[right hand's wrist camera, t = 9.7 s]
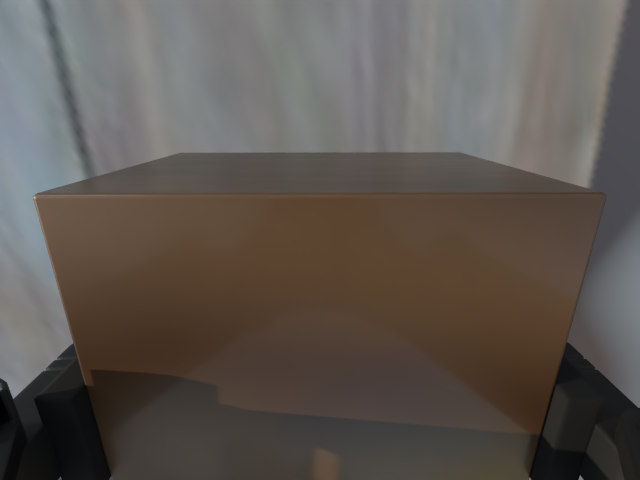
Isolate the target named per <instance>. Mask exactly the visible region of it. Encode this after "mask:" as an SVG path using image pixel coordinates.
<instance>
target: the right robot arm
mask: <svg viewBox="0 0 640 480" xmlns="http://www.w3.org/2000/svg"><path fill="white" fill-rule="evenodd" d="M580 475H581V476H582V478H583V479H584V480H640V408H638V407H637V406H636V405H635V404H633V403H632V402H631V401H630V400H629V399H628V398H627V397H626V396H625V395H624V394H623V393H622V392H621V391H620V390H619V389H617V388H616V387H615V386H614V385H613V384H612V383H611V382H610V381H609V380H608V379H607V378H606V377H605V376H604V375H602V374H601V373H600V372H599V371H598V370H595V367H594V366H593V365H592V364H591V363H590V362H589V361H588V360H586V359H584V358H583V356H582V355H581V354H580V353H579V352H578V351H577V350H576V349H575V348H574V347H573V346H571V345H570V344H569V343H566V346H565V350H564V354H563V357H562V361H561V365H560V368H559V372H558V375H557V379H556V383H555V386H554V390H553V394H552V397H551V401H550V405H549V408H548V412H547V415H546V419H545V423H544V426H543V430H542V434H541V437H540V441H539V445H538V448H537V452H536V456H535V459H534V463H533V466H532V470H531V474H530V478H531V480H578V479H579V476H580ZM60 476H61V478H62V480H109V478H110V477H111V476H110V472H109V468H108V465H107V461H106V458H105V454H104V450H103V447H102V443H101V440H100V436H99V432H98V429H97V425H96V422H95V418H94V415H93V411H92V407H91V404H90V400H89V397H88V393H87V389H86V386H85V382H84V379H83V375H82V371H81V368H80V364H79V361H78V357H77V353H76V350H75V346H74V344H72V345H70V346H69V347H68V348H67V349H66V350H65V351H64V352H63V353H62V354H61V355H60V356H59V357H58V358H57V360H55V361H53V362H52V363H51V364H50V365H49V366H48V367H47V368H46V371H43V372H42V373H41V374H40V375H39V376H38V377H36V378H35V379H34V380H33V381H32V382H31V383H30V384H29V385H28V386H27V387H26V388H25V389H24V390H23V391H22V392H21V393H20V394H18V395H17V396H16V397H15V398H14V399H13V398H12V395H11V393H10V390H9V387H8V385H7V382H5V381H4V380H2V379H0V480H58V479H59V477H60Z"/></svg>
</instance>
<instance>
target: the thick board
mask: <svg viewBox="0 0 640 480" xmlns="http://www.w3.org/2000/svg"><path fill="white" fill-rule="evenodd" d="M605 201H606V195H605V194H604V193H601V192H598V191H595V190H591V189H588V188H584V187H580V186H577V185H573V184H570V183H566V182H563V181H559V180H556V179H552V178H549V177H545V176H541V175H538V174H534V173H531V172H527V171H524V170H520V169H517V168H513V167H509V166H506V165H502V164H499V163H495V162H492V161H488V160H485V159H481V158H477V157H474V156H470V155H467V154H463V153H178V154H175V155H171V156H168V157H164V158H161V159H157V160H154V161H150V162H147V163H143V164H140V165H136V166H132V167H129V168H125V169H122V170H118V171H115V172H111V173H108V174H104V175H101V176H97V177H93V178H90V179H86V180H83V181H79V182H76V183H72V184H69V185H65V186H62V187H58V188H55V189H51V190H47V191H44V192H40V193H37V194H35V195H34V203H35V206H36V210H37V213H38V217H39V221H40V224H41V228H42V231H43V235H44V239H45V242H46V246H47V249H48V253H49V257H50V260H51V264H52V267H53V271H54V274H55V278H56V282H57V285H58V289H59V292H60V296H61V300H62V303H63V307H64V310H65V314H66V318H67V321H68V325H69V328H70V332H71V336H72V339H73V343H74V346H75V350H76V353H77V357H78V361H79V364H80V368H81V371H82V375H83V379H84V382H85V386H86V389H87V393H88V397H89V400H90V404H91V407H92V411H93V415H94V418H95V422H96V425H97V429H98V432H99V436H100V440H101V443H102V447H103V450H104V454H105V458H106V461H107V465H108V468H109V472H110V476H111V479H112V480H529V477H530V474H531V470H532V466H533V463H534V459H535V456H536V452H537V448H538V445H539V441H540V437H541V434H542V430H543V426H544V423H545V419H546V415H547V412H548V408H549V405H550V401H551V397H552V394H553V390H554V386H555V383H556V379H557V375H558V372H559V368H560V365H561V361H562V357H563V354H564V350H565V346H566V343H567V339H568V335H569V332H570V328H571V324H572V321H573V317H574V314H575V310H576V306H577V303H578V299H579V295H580V291H581V288H582V284H583V280H584V277H585V273H586V270H587V266H588V262H589V259H590V255H591V252H592V248H593V244H594V241H595V237H596V233H597V230H598V226H599V222H600V219H601V215H602V211H603V208H604V204H605Z"/></svg>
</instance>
